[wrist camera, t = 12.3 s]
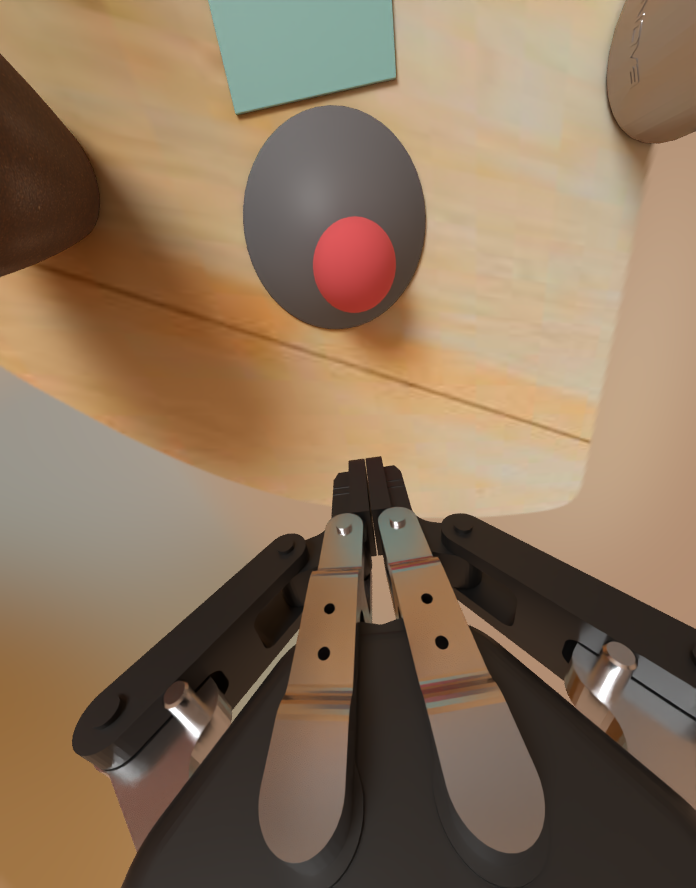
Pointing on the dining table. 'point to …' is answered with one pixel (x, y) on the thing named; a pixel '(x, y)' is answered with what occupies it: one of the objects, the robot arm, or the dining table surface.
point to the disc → (329, 205)
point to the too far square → (302, 48)
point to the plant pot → (39, 179)
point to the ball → (354, 264)
